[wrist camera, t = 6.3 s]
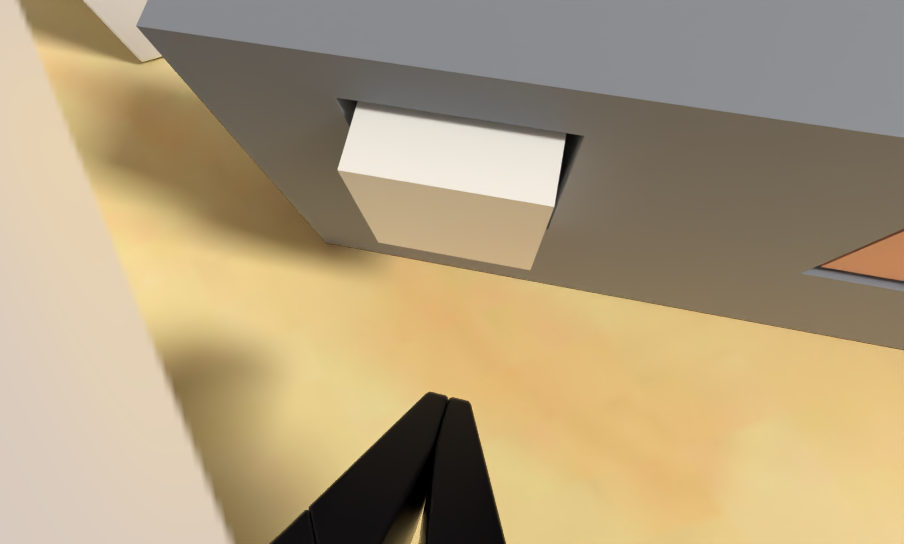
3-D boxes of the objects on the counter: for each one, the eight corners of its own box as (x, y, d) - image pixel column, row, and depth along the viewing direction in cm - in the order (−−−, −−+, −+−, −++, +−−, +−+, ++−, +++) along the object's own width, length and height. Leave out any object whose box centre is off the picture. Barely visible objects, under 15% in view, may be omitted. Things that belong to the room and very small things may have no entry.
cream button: (530, 270, 13) (554, 206, 9) (378, 242, 13) (337, 170, 9) (541, 205, 13) (568, 118, 9) (394, 180, 13) (361, 87, 10)
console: (945, 357, 17) (1748, 260, 6) (325, 242, 19) (135, 25, 8) (937, 222, 18) (1588, -50, 7) (358, 129, 20) (230, -183, 10)
